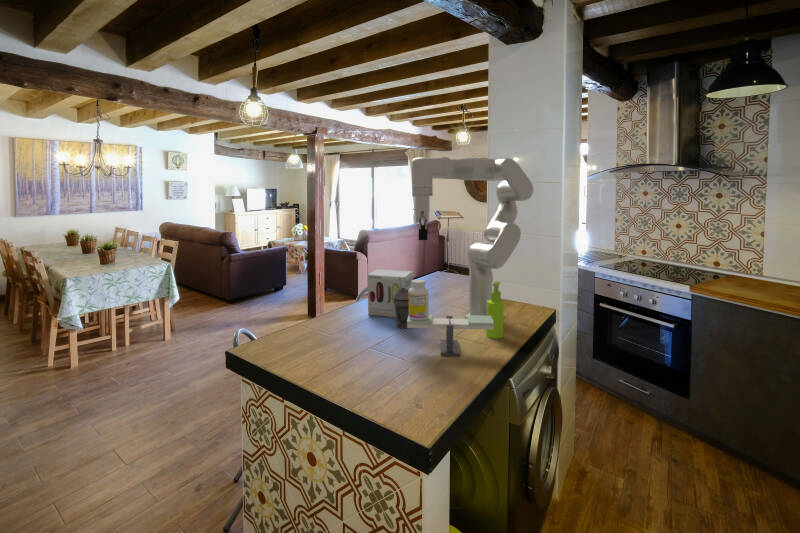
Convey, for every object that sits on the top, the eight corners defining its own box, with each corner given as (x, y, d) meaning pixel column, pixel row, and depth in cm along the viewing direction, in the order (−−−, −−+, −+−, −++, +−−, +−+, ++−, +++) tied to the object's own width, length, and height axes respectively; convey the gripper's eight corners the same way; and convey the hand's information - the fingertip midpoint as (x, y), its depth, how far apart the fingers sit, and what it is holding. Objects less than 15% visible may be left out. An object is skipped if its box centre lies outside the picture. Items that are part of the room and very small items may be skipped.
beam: (490, 322, 140) (491, 315, 140) (493, 330, 132) (494, 323, 132) (408, 321, 143) (408, 314, 142) (407, 328, 135) (407, 321, 135)
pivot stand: (457, 342, 145) (458, 315, 143) (459, 356, 133) (459, 326, 131) (440, 342, 145) (440, 315, 143) (440, 355, 134) (440, 326, 132)
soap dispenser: (503, 333, 154) (505, 281, 150) (501, 339, 147) (503, 285, 144) (487, 331, 156) (489, 280, 152) (485, 337, 149) (486, 284, 146)
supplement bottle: (415, 314, 142) (415, 277, 140) (432, 317, 139) (432, 280, 136) (404, 319, 137) (404, 281, 135) (421, 322, 133) (421, 283, 131)
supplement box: (367, 315, 177) (366, 274, 174) (377, 307, 190) (377, 268, 186) (405, 319, 172) (405, 276, 169) (414, 310, 185) (414, 270, 181)
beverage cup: (410, 330, 158) (410, 279, 154) (391, 329, 159) (391, 278, 156) (413, 324, 165) (413, 275, 161) (395, 323, 166) (395, 274, 163)
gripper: (412, 192, 160) (413, 235, 164) (411, 193, 143) (412, 241, 147) (432, 191, 160) (432, 235, 163) (433, 192, 143) (433, 241, 146)
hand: (423, 238), depth 155 cm, fingers open, 9 cm apart
